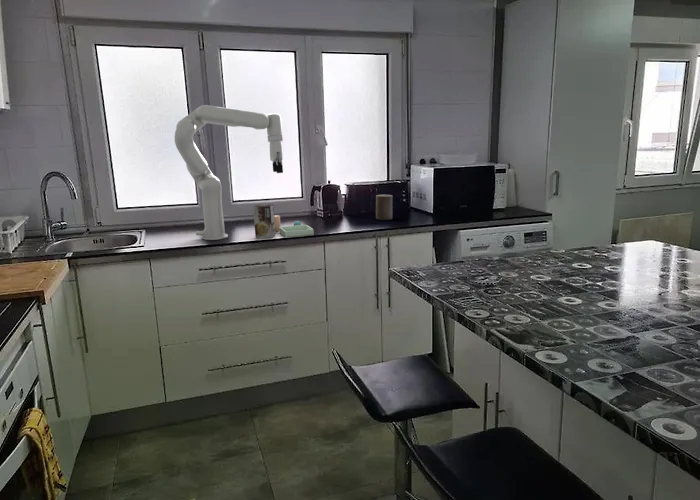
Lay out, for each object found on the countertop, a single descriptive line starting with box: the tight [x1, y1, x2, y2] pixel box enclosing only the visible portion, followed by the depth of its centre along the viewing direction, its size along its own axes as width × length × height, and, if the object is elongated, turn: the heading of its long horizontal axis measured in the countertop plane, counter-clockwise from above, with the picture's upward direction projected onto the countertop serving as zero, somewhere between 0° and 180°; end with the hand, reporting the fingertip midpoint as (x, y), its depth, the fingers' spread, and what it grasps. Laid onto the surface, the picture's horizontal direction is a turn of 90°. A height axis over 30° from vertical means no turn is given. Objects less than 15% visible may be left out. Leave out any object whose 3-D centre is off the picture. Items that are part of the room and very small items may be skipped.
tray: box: [279, 224, 315, 239], centre depth 263 cm, size 15×15×3 cm
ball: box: [293, 220, 302, 226], centre depth 278 cm, size 4×4×4 cm
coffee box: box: [252, 203, 276, 239], centre depth 256 cm, size 9×6×16 cm
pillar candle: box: [375, 194, 393, 221], centre depth 299 cm, size 10×10×15 cm
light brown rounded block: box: [274, 214, 282, 233], centre depth 272 cm, size 7×7×8 cm
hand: (278, 172), depth 265 cm, fingers open, 9 cm apart
